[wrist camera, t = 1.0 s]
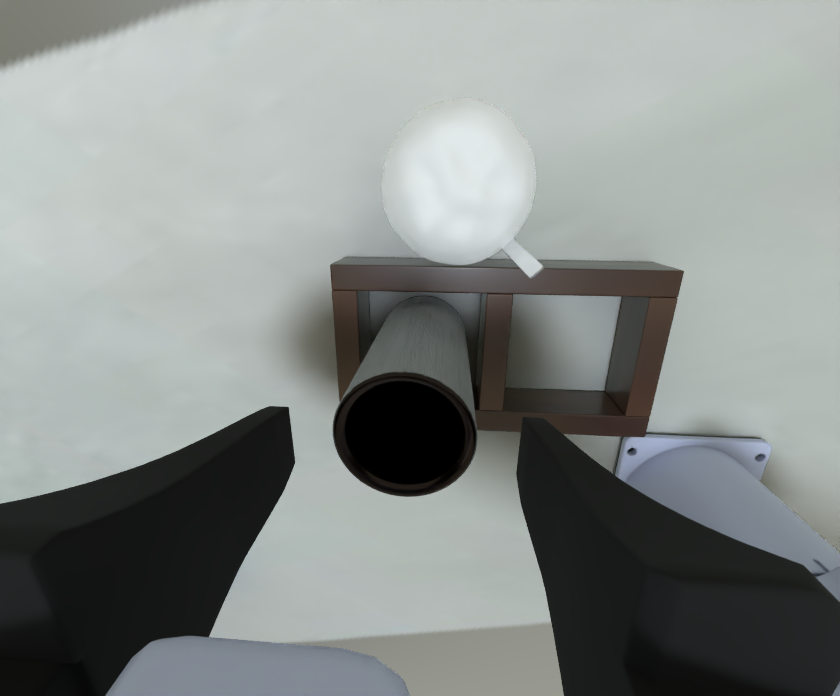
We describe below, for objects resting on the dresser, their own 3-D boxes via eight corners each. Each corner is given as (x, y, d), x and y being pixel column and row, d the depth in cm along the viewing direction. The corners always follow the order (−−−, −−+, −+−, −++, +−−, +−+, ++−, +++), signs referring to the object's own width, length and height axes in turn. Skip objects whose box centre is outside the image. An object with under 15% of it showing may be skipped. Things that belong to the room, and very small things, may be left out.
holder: (622, 411, 23) (645, 438, 20) (353, 400, 24) (340, 424, 21) (653, 261, 20) (684, 270, 17) (344, 256, 21) (329, 264, 18)
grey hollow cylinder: (403, 383, 23) (370, 514, 13) (369, 313, 22) (305, 402, 12) (477, 356, 22) (498, 475, 12) (446, 281, 21) (443, 349, 11)
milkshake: (462, 272, 21) (472, 329, 11) (389, 192, 19) (332, 182, 10) (532, 207, 19) (610, 211, 10) (458, 118, 18) (466, 27, 9)
